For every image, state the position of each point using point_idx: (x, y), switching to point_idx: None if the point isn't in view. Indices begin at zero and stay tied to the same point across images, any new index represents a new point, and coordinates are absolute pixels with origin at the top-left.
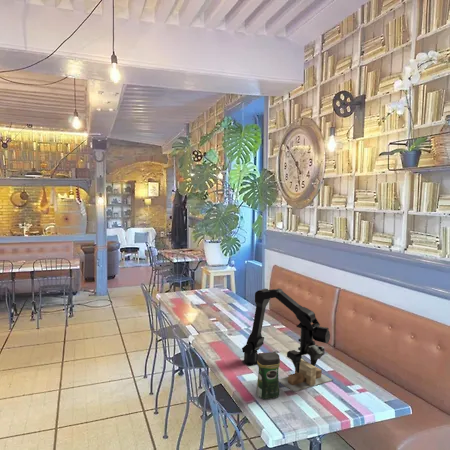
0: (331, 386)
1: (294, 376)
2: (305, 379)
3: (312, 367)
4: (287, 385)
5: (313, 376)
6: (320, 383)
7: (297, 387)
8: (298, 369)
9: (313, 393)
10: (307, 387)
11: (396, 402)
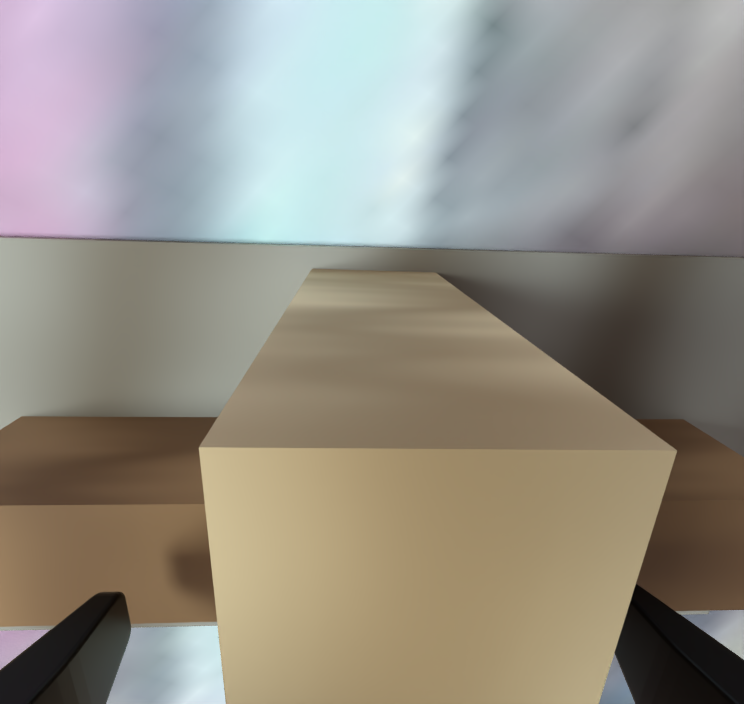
0: (35, 50)
1: (721, 525)
2: None
3: (495, 510)
4: (741, 445)
5: (386, 304)
6: (199, 243)
7: (679, 329)
8: (736, 669)
9: (601, 23)
10: (531, 251)
11: None
